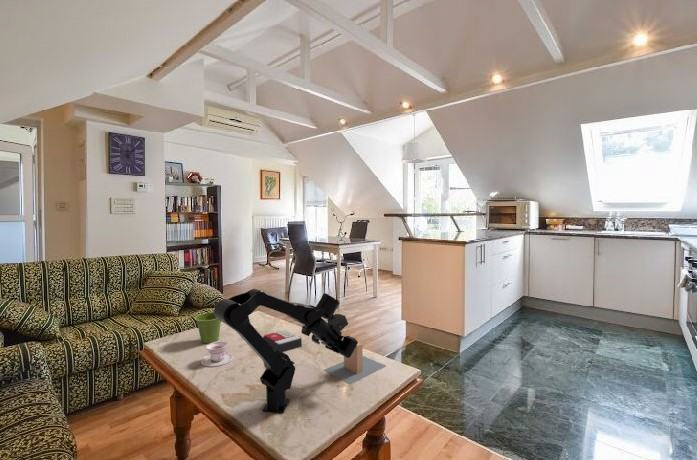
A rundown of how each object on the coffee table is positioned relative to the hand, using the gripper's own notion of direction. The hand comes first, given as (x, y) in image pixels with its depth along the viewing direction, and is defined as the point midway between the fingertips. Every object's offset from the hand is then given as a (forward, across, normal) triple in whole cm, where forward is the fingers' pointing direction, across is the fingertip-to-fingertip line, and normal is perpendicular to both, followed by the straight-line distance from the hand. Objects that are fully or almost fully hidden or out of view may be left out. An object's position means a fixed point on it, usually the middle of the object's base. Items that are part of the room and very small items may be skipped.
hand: (346, 351), depth 122 cm
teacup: (-15, +43, +26) cm, 53 cm away
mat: (+9, 0, +2) cm, 9 cm away
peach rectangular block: (+7, 0, +3) cm, 8 cm away
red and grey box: (+4, +39, +8) cm, 40 cm away
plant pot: (-11, +65, +22) cm, 69 cm away
